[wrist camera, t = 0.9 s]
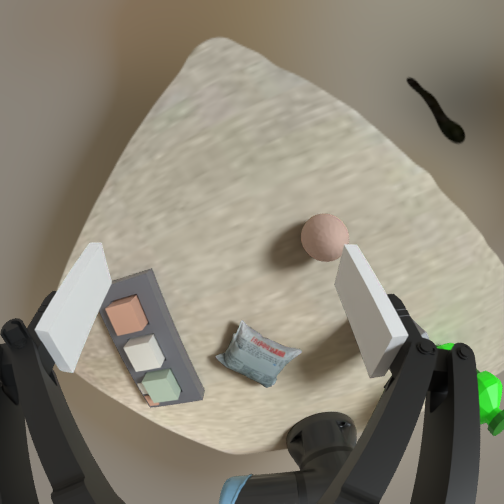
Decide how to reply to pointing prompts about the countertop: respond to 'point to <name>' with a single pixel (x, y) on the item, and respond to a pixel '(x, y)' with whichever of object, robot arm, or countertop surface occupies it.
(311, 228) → the egg
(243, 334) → the packaged food
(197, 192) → the countertop surface
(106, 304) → the keypad board
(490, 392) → the plastic bottle
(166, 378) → the sage key
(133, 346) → the cream key
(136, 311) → the terracotta key
